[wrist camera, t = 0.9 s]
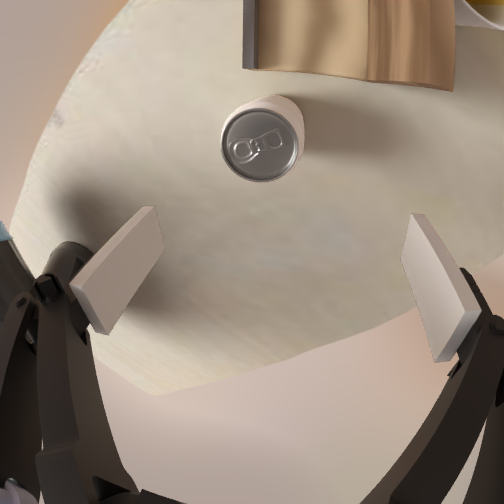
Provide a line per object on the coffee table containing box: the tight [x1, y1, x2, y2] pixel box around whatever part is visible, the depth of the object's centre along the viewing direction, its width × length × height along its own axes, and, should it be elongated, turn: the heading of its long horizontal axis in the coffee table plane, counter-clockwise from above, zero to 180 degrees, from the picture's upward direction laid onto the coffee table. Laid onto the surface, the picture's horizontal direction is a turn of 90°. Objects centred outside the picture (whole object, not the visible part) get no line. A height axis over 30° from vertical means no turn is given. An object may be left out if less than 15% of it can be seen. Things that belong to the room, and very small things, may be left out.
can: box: [221, 95, 305, 182], centre depth 24 cm, size 6×6×12 cm
